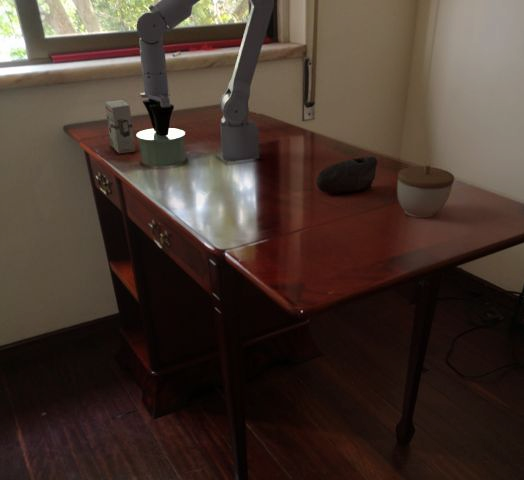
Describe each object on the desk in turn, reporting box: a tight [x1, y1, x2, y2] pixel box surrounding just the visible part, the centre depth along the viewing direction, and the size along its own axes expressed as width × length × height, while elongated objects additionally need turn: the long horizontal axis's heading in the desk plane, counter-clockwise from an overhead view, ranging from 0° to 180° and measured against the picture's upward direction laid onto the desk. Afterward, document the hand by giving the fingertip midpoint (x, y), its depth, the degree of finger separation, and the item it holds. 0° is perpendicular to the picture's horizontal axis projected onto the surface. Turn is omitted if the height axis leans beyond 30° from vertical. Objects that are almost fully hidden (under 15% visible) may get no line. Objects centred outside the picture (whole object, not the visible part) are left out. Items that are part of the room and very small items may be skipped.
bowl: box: [137, 136, 187, 167], centre depth 135 cm, size 11×11×6 cm
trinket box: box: [396, 164, 455, 219], centre depth 106 cm, size 11×11×9 cm
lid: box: [135, 117, 186, 142], centre depth 132 cm, size 12×12×6 cm
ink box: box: [104, 99, 136, 154], centre depth 143 cm, size 9×5×12 cm, turn 27°
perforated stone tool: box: [316, 156, 378, 194], centre depth 117 cm, size 15×5×7 cm, turn 110°
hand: (161, 132), depth 133 cm, fingers open, 4 cm apart
